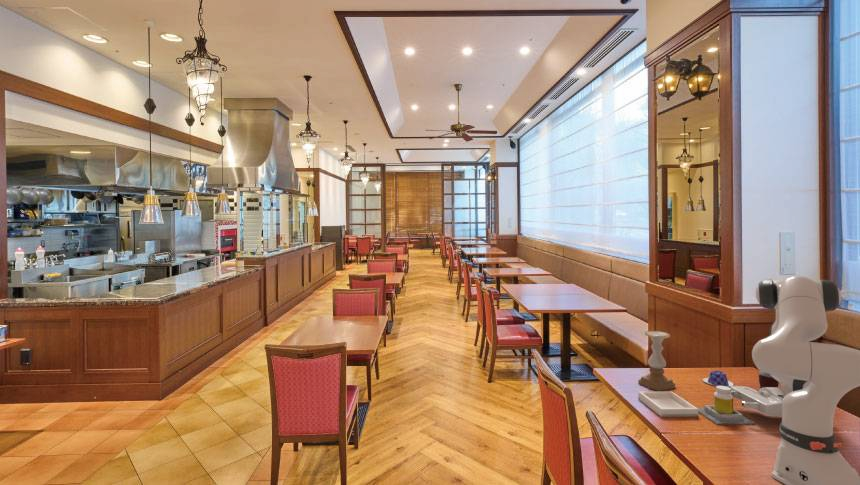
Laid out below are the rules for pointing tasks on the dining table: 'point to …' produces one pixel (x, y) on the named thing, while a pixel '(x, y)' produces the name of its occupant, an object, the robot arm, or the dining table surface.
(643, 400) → the tray
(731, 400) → the pill bottle
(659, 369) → the candle holder
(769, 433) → the dining table surface
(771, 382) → the mate gourd
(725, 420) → the steel collar
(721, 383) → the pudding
